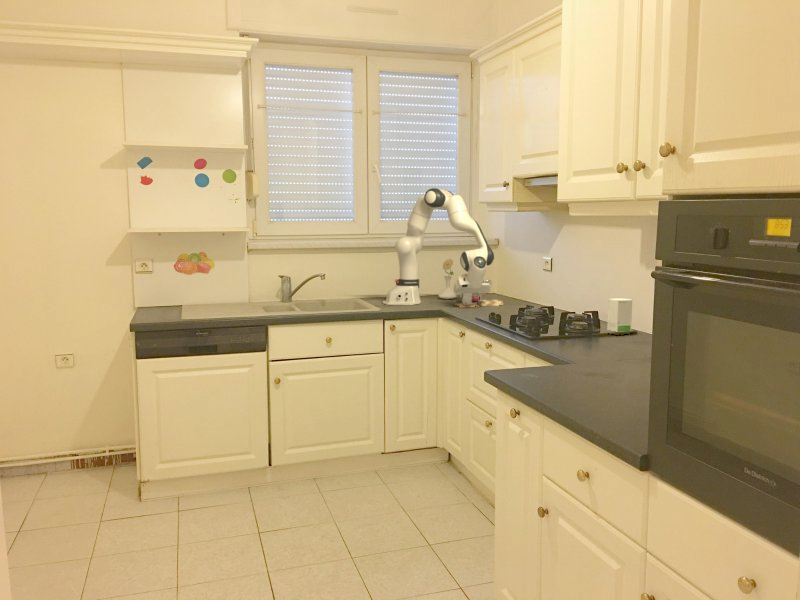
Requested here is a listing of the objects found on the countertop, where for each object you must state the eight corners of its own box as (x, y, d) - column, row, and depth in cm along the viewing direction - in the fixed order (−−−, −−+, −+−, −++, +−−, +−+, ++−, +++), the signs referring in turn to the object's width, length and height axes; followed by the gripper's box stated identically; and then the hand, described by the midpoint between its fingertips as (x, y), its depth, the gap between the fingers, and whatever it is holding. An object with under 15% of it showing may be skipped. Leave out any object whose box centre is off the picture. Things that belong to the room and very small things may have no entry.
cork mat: (459, 307, 373) (459, 306, 373) (454, 304, 385) (454, 303, 384) (479, 306, 374) (479, 306, 374) (474, 304, 386) (474, 303, 386)
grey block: (463, 305, 378) (463, 291, 377) (462, 304, 380) (462, 290, 379) (471, 304, 379) (471, 290, 378) (470, 304, 381) (470, 290, 380)
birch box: (480, 305, 378) (480, 301, 378) (477, 304, 385) (477, 300, 385) (502, 305, 380) (503, 301, 380) (499, 303, 387) (499, 299, 387)
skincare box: (616, 336, 285) (617, 300, 283) (605, 333, 291) (607, 298, 289) (631, 335, 288) (633, 299, 286) (620, 332, 294) (622, 297, 292)
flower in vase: (435, 298, 414) (436, 257, 411) (452, 297, 417) (453, 257, 414) (443, 300, 401) (443, 259, 398) (460, 299, 405) (461, 258, 402)
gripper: (491, 275, 367) (486, 291, 378) (455, 276, 364) (451, 292, 375) (493, 284, 364) (488, 300, 374) (457, 285, 360) (453, 301, 371)
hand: (469, 296), depth 375 cm, fingers open, 8 cm apart
